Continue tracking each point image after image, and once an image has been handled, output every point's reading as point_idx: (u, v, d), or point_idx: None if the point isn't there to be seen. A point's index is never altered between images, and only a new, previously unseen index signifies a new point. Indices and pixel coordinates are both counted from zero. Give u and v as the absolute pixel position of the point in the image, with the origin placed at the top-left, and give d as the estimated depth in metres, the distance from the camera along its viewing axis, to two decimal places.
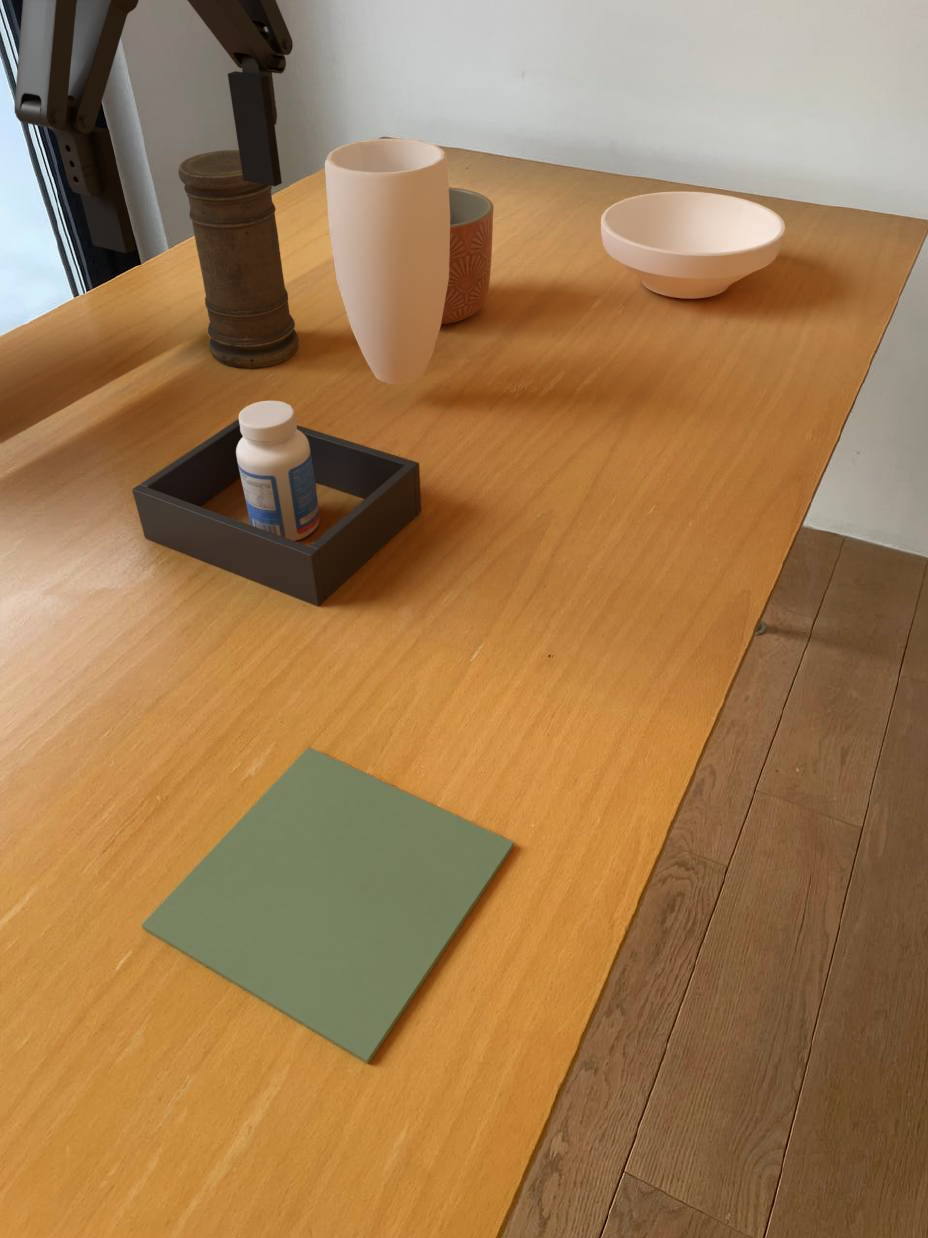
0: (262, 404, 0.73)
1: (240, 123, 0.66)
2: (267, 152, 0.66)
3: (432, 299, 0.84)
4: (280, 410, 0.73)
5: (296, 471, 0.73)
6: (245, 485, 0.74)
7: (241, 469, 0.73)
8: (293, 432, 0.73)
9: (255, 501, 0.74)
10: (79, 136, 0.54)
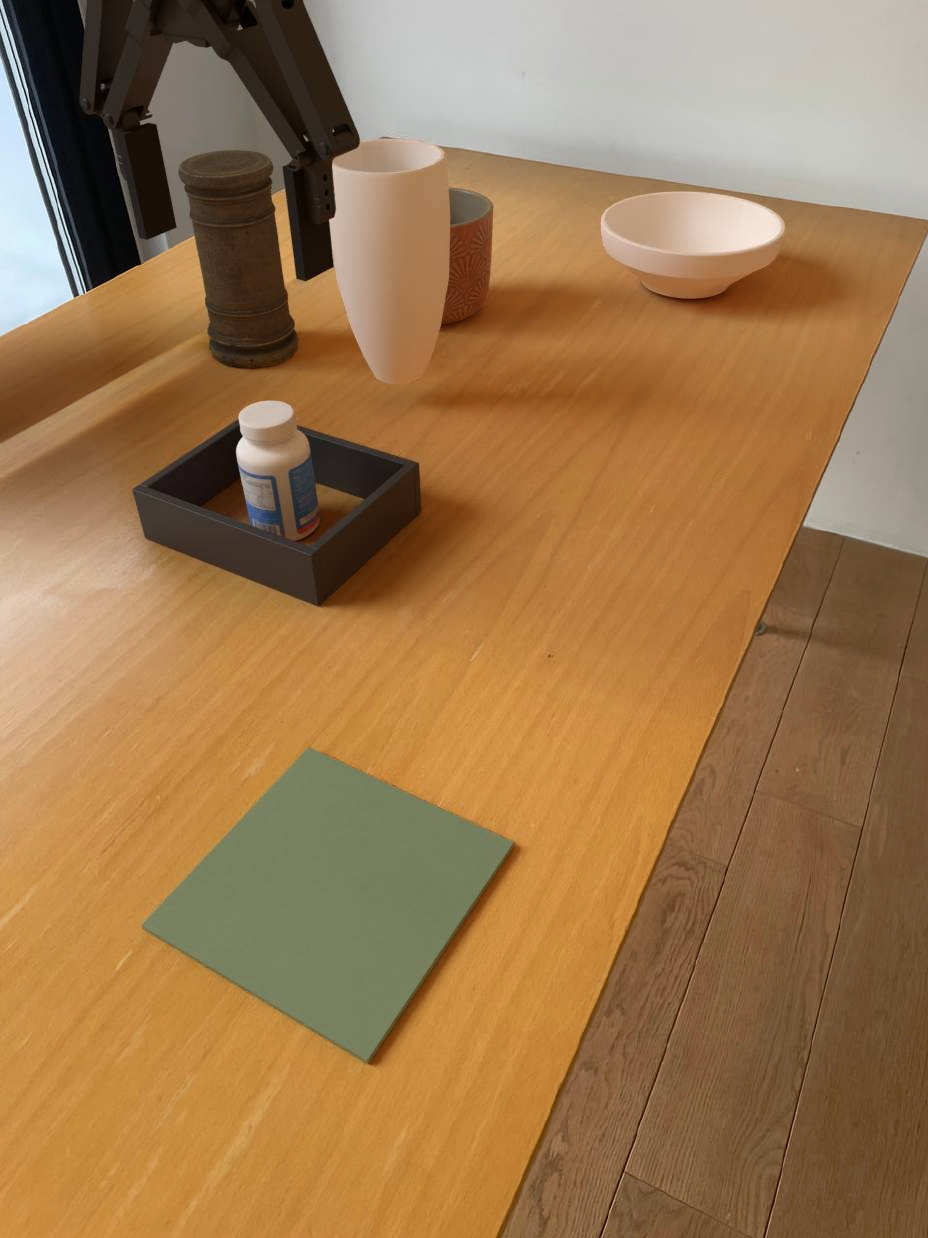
0: (262, 404, 0.73)
1: (140, 180, 0.65)
2: (168, 195, 0.67)
3: (432, 299, 0.84)
4: (280, 410, 0.73)
5: (296, 471, 0.73)
6: (245, 485, 0.74)
7: (241, 469, 0.73)
8: (293, 432, 0.73)
9: (255, 501, 0.74)
10: None
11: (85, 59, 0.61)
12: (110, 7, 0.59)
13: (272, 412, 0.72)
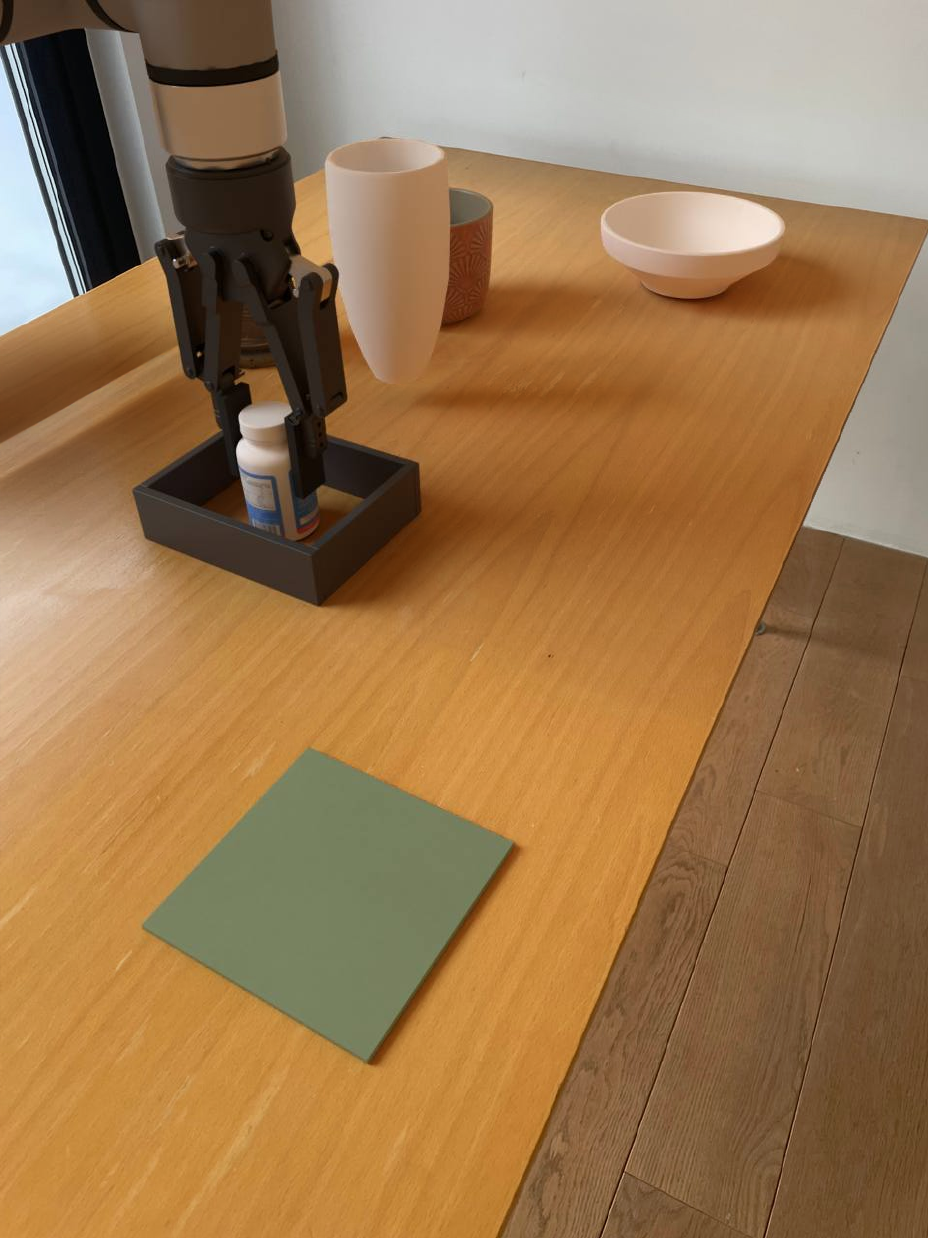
0: (262, 404, 0.73)
1: (235, 432, 0.74)
2: None
3: (432, 299, 0.84)
4: (280, 410, 0.73)
5: None
6: (245, 485, 0.74)
7: (241, 469, 0.73)
8: None
9: (255, 501, 0.74)
10: None
11: (179, 335, 0.71)
12: (187, 284, 0.68)
13: (272, 412, 0.72)
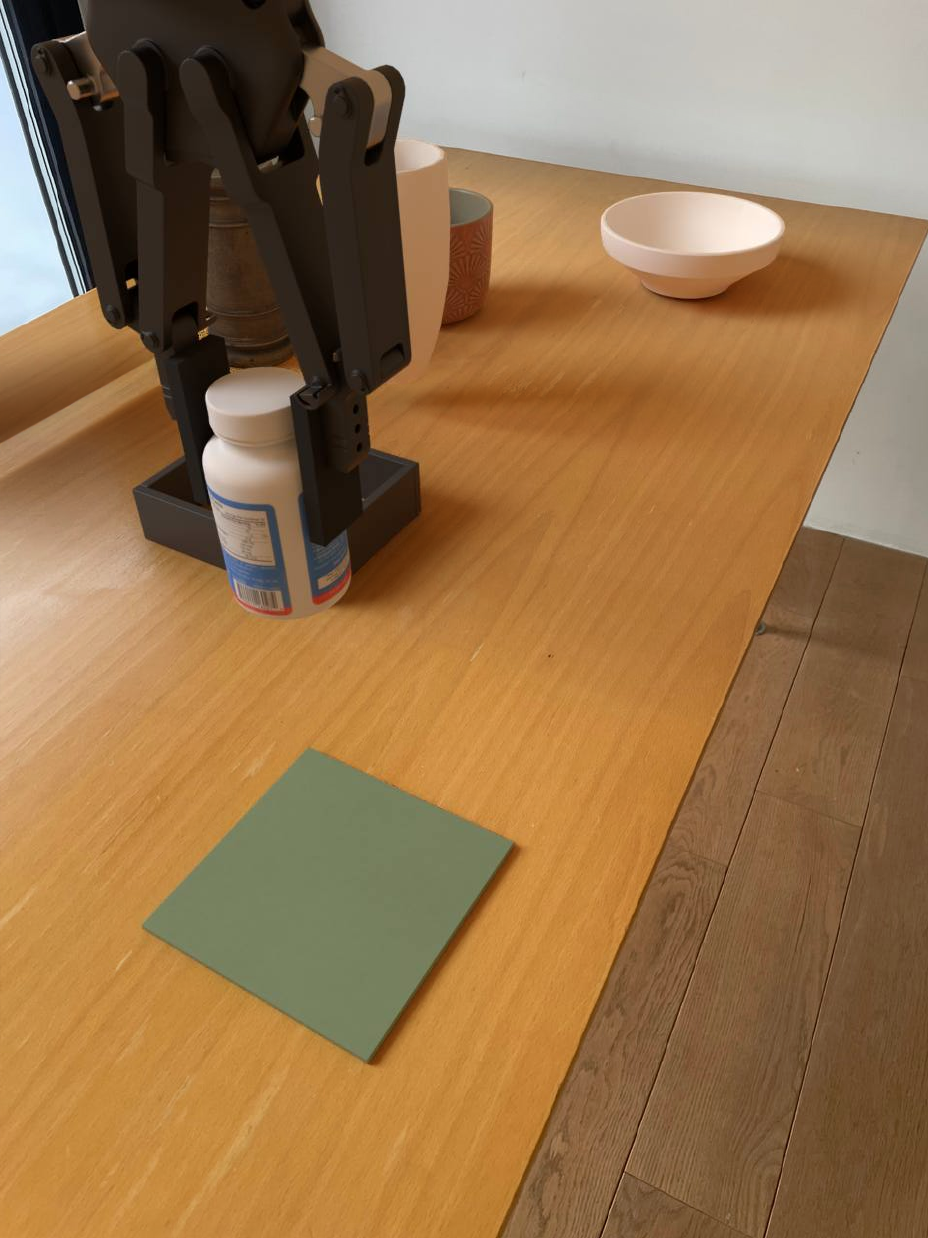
0: (249, 373, 0.40)
1: (200, 425, 0.41)
2: None
3: (432, 299, 0.84)
4: (283, 383, 0.39)
5: None
6: (219, 520, 0.41)
7: (212, 492, 0.40)
8: None
9: (238, 550, 0.41)
10: None
11: (90, 243, 0.37)
12: (100, 138, 0.35)
13: (268, 387, 0.39)
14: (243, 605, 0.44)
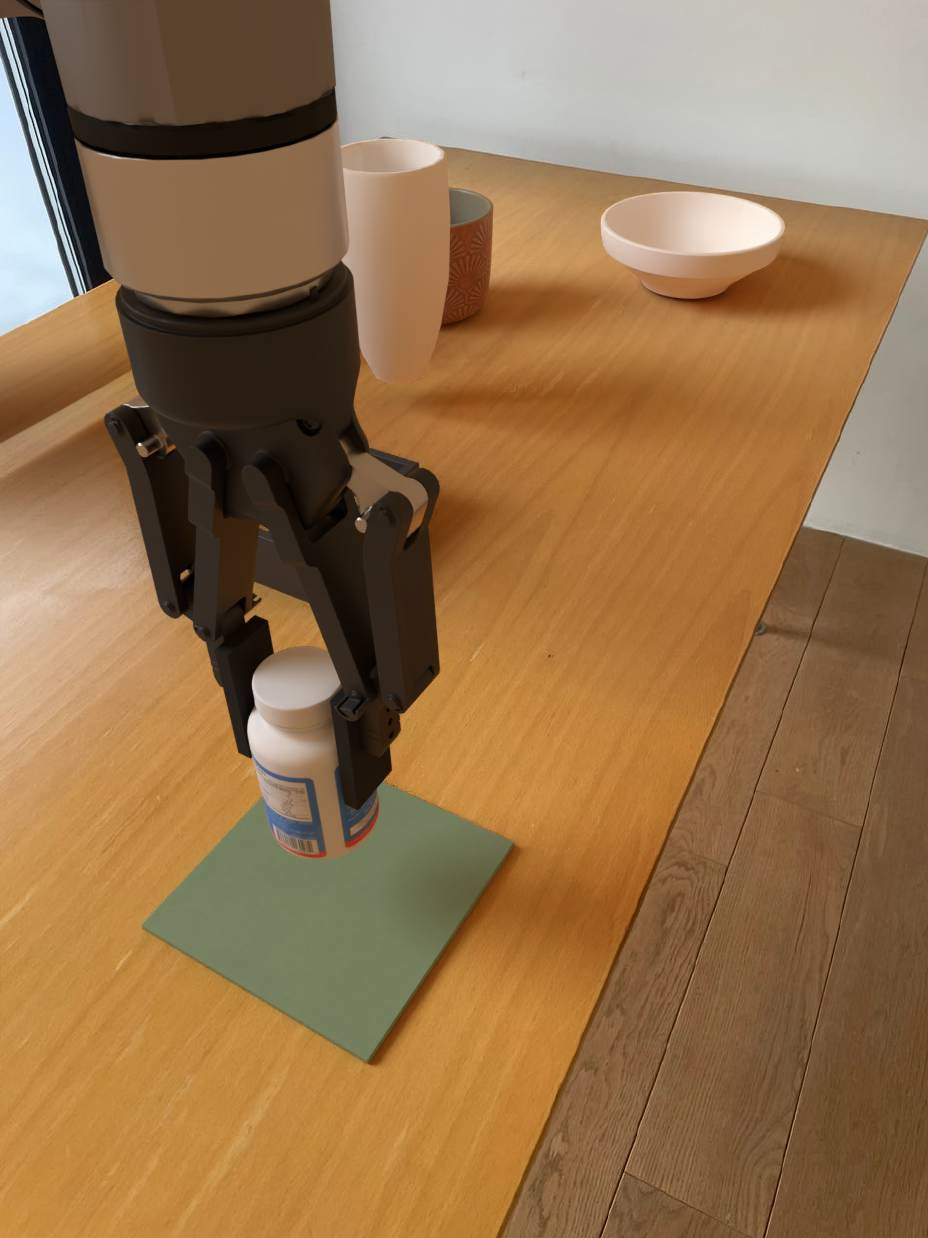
0: (291, 655, 0.44)
1: (245, 697, 0.45)
2: None
3: (432, 299, 0.84)
4: (322, 669, 0.44)
5: None
6: (262, 782, 0.45)
7: (256, 761, 0.44)
8: None
9: (279, 807, 0.45)
10: None
11: (150, 555, 0.42)
12: (163, 479, 0.39)
13: (308, 673, 0.43)
14: (281, 845, 0.48)
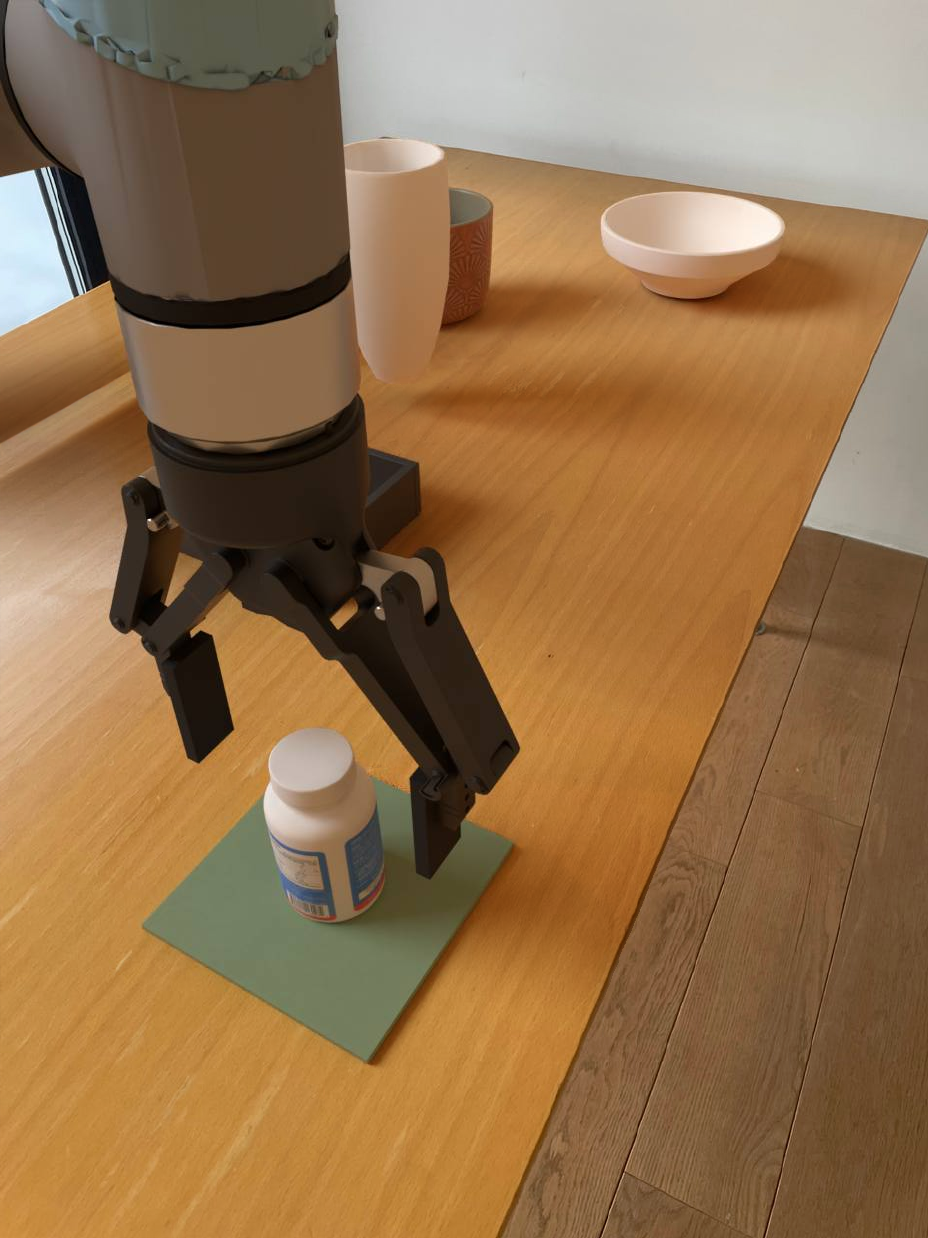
0: (304, 736, 0.48)
1: (192, 707, 0.48)
2: (225, 703, 0.51)
3: (432, 299, 0.84)
4: (333, 751, 0.47)
5: (356, 839, 0.48)
6: (277, 853, 0.49)
7: (271, 835, 0.48)
8: (352, 785, 0.47)
9: (292, 876, 0.49)
10: None
11: (119, 586, 0.44)
12: (158, 542, 0.42)
13: (320, 755, 0.47)
14: (294, 908, 0.51)
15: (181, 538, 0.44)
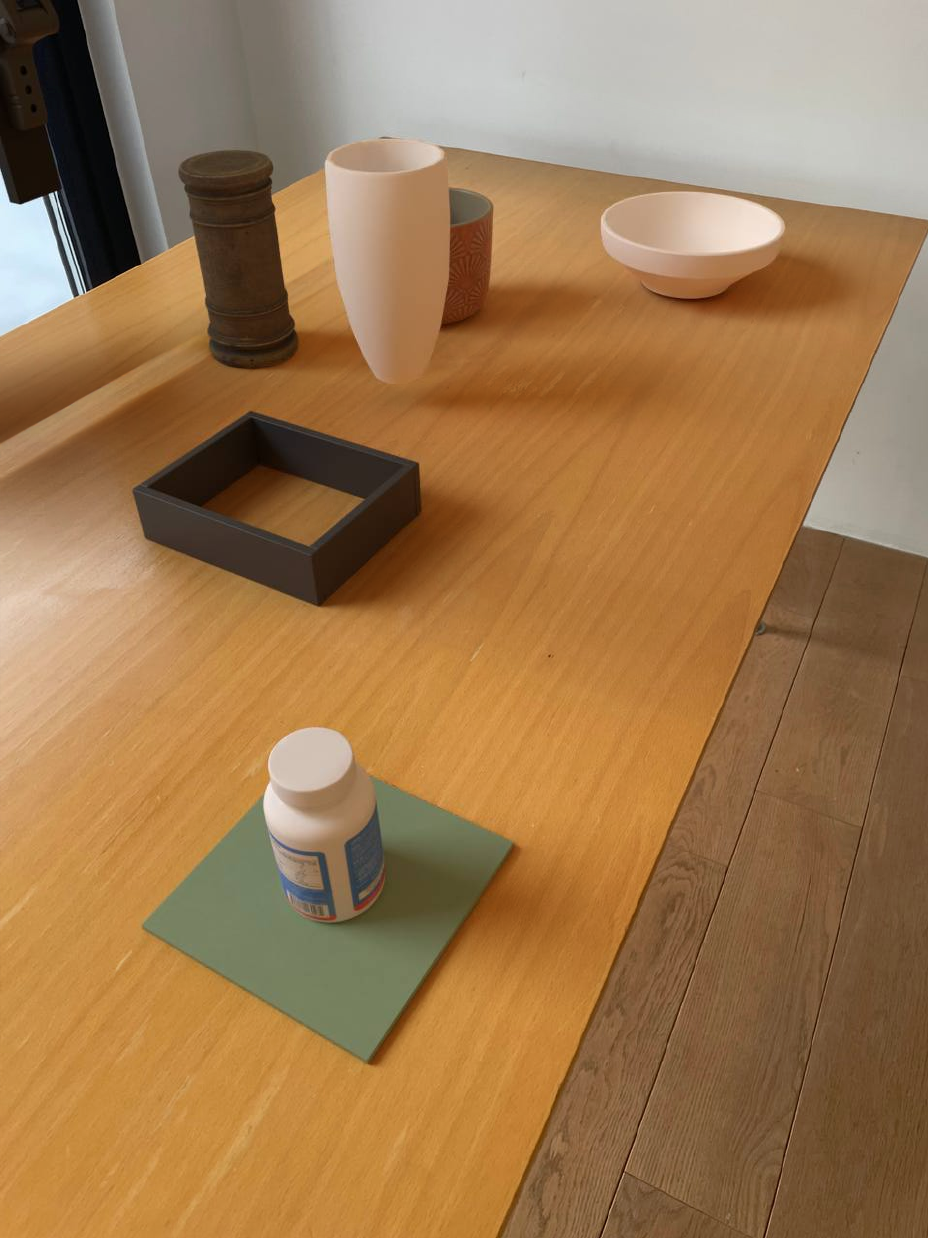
0: (304, 736, 0.48)
1: None
2: None
3: (432, 299, 0.84)
4: (332, 750, 0.47)
5: (356, 839, 0.48)
6: (277, 853, 0.49)
7: (271, 835, 0.48)
8: (352, 785, 0.47)
9: (292, 876, 0.49)
10: None
11: None
12: None
13: (320, 755, 0.47)
14: (294, 908, 0.51)
15: None
